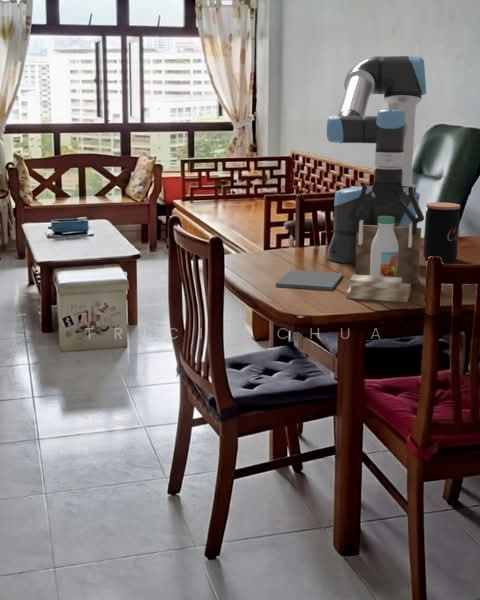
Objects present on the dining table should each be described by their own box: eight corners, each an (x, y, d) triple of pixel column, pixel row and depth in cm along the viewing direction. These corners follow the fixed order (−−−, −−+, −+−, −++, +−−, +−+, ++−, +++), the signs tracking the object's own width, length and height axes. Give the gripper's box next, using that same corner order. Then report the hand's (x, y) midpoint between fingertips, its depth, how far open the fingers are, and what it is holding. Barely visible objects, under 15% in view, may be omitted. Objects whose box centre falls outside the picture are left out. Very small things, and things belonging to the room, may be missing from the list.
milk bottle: (368, 290, 233) (371, 218, 228) (369, 283, 240) (372, 214, 235) (397, 291, 232) (400, 219, 227) (396, 284, 239) (400, 215, 234)
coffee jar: (450, 264, 267) (454, 207, 263) (418, 260, 273) (421, 205, 268) (460, 258, 276) (464, 203, 272) (429, 255, 282) (432, 201, 277)
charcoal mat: (275, 286, 236) (275, 283, 236) (290, 273, 253) (290, 270, 253) (332, 290, 232) (332, 287, 232) (342, 276, 249) (343, 273, 249)
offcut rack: (342, 297, 225) (344, 238, 221) (357, 276, 249) (359, 223, 245) (410, 302, 220) (414, 242, 216) (419, 280, 244) (422, 226, 240)
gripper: (340, 167, 228) (338, 245, 233) (434, 170, 221) (430, 250, 226) (345, 165, 235) (342, 240, 240) (436, 168, 228) (431, 245, 233)
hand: (384, 245), depth 233 cm, fingers open, 13 cm apart
